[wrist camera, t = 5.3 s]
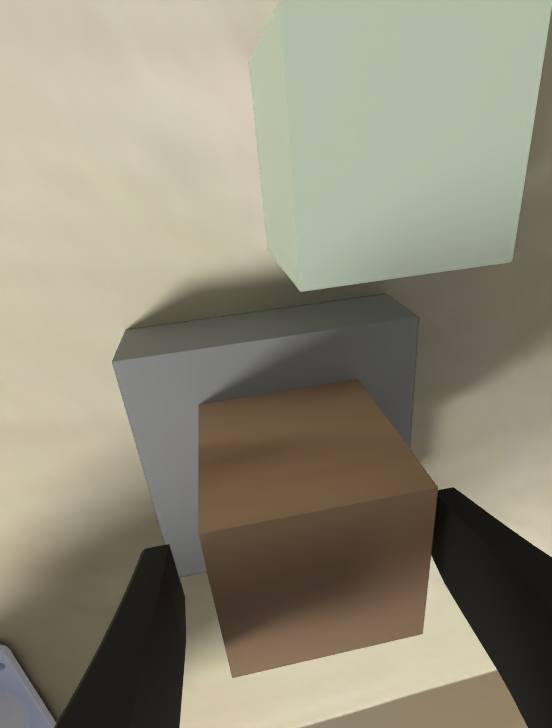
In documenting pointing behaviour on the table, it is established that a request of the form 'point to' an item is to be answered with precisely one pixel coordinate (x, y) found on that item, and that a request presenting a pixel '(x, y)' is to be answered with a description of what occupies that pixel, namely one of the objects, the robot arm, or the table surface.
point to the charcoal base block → (251, 384)
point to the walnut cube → (311, 525)
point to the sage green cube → (394, 134)
